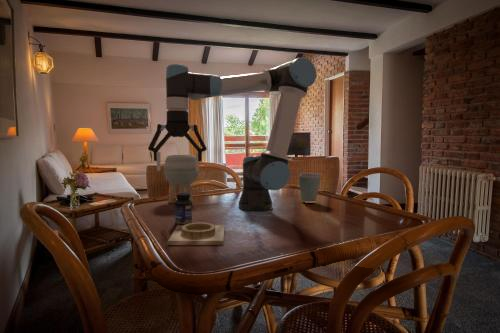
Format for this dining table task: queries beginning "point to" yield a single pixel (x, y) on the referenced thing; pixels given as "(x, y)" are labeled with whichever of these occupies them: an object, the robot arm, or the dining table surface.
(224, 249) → the dining table surface
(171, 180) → the planter
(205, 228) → the square socket plate
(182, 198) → the pill bottle
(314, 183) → the disposable coffee cup
